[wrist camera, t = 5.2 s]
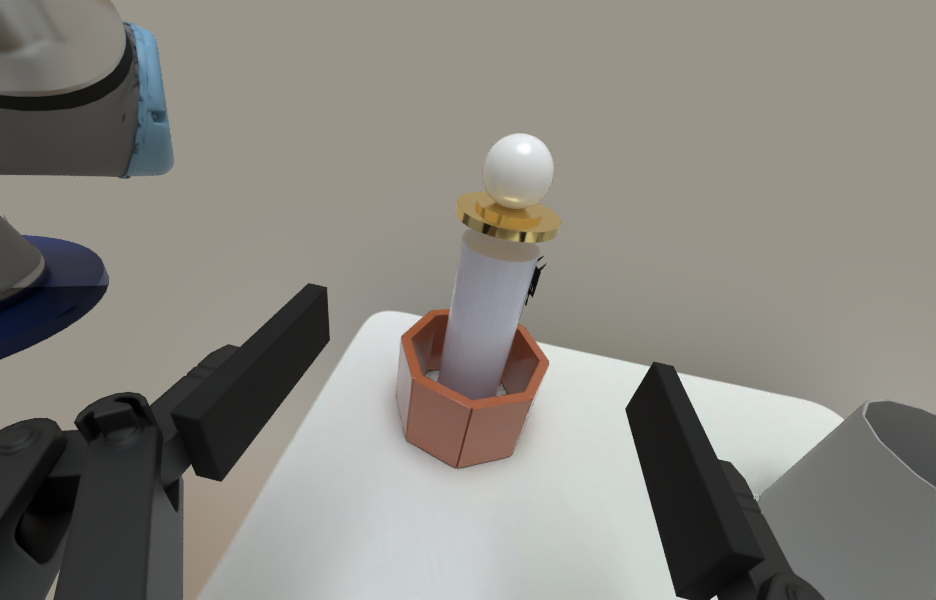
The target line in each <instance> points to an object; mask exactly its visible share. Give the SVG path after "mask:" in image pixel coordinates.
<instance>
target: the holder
mask: <svg viewBox="0 0 936 600" xmlns="http://www.w3.org/2000/svg"><path fill="white" fill-rule="evenodd" d="M449 310H450V309H443V310H442V309H441V310H432V311H429V312H428V313H427V314H426V315H425V316H424V317H422V318H421V319H420V320H419V321H418V322H417V323H416V324H414V325H413V326H412V327H411V328H410V329H409V330H408V331H407V332H405V333H404V334H403V335H402V336H401V343H400V355H399V366H398V378H397V390H396V399H397V403H398V408H399V412H400V417H401V422H402V426H403V431H404V435H405V438H407V441H408V442H410V443H412V444H414V445H415V446H417V447H419V448H421V449H422V450H424V451H426V452H428V453H429V454H431V455H433V456H435V457H436V458H438V459H440V460H442V461H443V462H445V463H447V464H449V465H451V466H452V467H454V468H456V466H457V468H462V467H466V466H471V465H475V464H480V463H484V462H489V461H493V460H497V459H502V458H506V457H510V455H512V453H513V451H514V449H515V447H516V444H517V442H518V440H519V437H520V435H521V433H522V431H523V428H524V426H525V424H526V422H527V419H528V417H529V414H530V412H531V409H532V407H533V404H534V402H535V399H536V397H537V394H538V392H539V389H540V386H541V384H542V381H543V379H544V376H545V374H546V371H547V369H548V366H549V360H548V359H547V358H546V356H545V355H544V353H543V352H542V350H541V349H540V348H539V346H538V345H537V343H536V342H535V341H534V339H533V338H532V336H531V335H530V333H529V332H528V331H527V329H526V328H525V327H523V326H522V325H520V324H518V326H517V329H516V333H515V336H514V339H513V343H512V346H511V349H510V352H509V356H508V359H507V362H506V365H505V369H504V372H503V375H502V379H501V382H502V384H503V385H504V387H505V389H506V391H507V393H508V395H502V396H495V397H489V398H483V399H476V400H471V399H469V398H467V397H465V396H463V395H461V394H459V393H457V392H455V391H453V390H451V389H449V388H447V387H445V386H443V385H441V384H439V383H437V382H435V381H433V380H431V379H429V378H427V377H425V376H424V375H425V374H426V372H427V371H429V370H437V369H440V363H441V357H442V351H443V345H444V339H445V333H446V328H447V322H448V316H449Z"/></svg>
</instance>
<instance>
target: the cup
mask: <svg viewBox="0 0 936 600" xmlns="http://www.w3.org/2000/svg"><path fill="white" fill-rule="evenodd" d="M758 505H759V507H760V509H761V514H763V515H764V517H765V519H766V521H767V523H768V525H769V527H770V528H771V530H772V532H773V534H774V536H775V538H776V540H777V542H778V544H779V546H780V548H781V550H782V552H783V553H784V555H785V557H786V559H787V561H788V563H789V565H790V567H791V569H792V570H793V572H794V574H795V575H798V576H799V577H801V578H802V579H804V580H805V581H807V582H808V583H810V584H811V585H812V586H813V587H814V588H815V589H816V590H817V591H818V592H819V593H820V594H821V595H822V596H823V597H824V599H825V600H936V414H934V413H931V412H929V411H927V410H925V409H922V408H919V407H915V406H911V405H908V404H904V403H900V402H896V401H892V400H889V399H882V400H872V401H866V402H865V403H863V404H862V405H861V406H860V407H859V408H858V409H857V410H856V411H854V413H852V414H851V415H850V416H849V417H848V418H847V419H845V420H844V421H843V422H842V423H841V424H840V425H839V426H838V427H836V428H835V429H834V430H833V431H832V432H831V433H830V434H829V435H827V436H826V437H825V438H824V439H823V440H822V441H821V442H820V443H818V444H817V445H816V446H815V447H814V448H813V449H812V450H811V451H809V452H808V453H807V454H806V455H805V456H804V457H803V458H802V459H800V460H799V461H798V462H797V463H796V464H795V465H794V466H792V467H791V468H790V469H789V470H788V471H787V472H786V473H785V474H783V475H782V476H781V477H780V478H779V479H778V480H777V481H776V482H774V483H773V484H772V485H771V486H770V487H769V488H768V489H767V490H765V491H764V492H763V493H762V495H761V497H760V499H759V501H758Z"/></svg>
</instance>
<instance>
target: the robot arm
mask: <svg viewBox="0 0 936 600" xmlns="http://www.w3.org/2000/svg"><path fill="white" fill-rule="evenodd" d="M173 164H174V156H173V149H172V142H171V135H170V128H169V122H168V115H167V108H166V101H165V95H164V88H163V81H162V74H161V67H160V60H159V54H158V47H157V41H156V39H155V37H154V35H153V34H152V33H151V32H149V31H148V30H147V29H144V28H141V27H138V26H136V25H135V24H133V23H129V22H122V20H121V18H120V16H119V14H118V12H117V10H116V8H115V6H114V4H113V3H112V2H111V1H110V0H0V175H68V176H69V175H70V176H109V177H119V178H125V179H126V178H130V177H131V176H151V175H152V176H154V175H162V174H165V173H167V172H168V171H170V169H171V168H172V167H173ZM49 277H50V269H49V267H48V265H47V263H46V261H45V259H44V257H43V256H42V254H41V252H40V250H39V249H38V248H37V247H35V246H34V245H33V244H32V243H31V242H29V241H28V240H26V239H25V238H24V237H23V236H22V235H21V234H20V233H19V232H18V231H16V230H15V229H14V228H13V227H12V226H11V225H10V224H9V223H8V221H7V219H6V217H5V216H4V218H2V217H1V216H0V313H1V312H3V311H5V310H8V309H10V308H12V307H14V306H16V305H17V304H19V303H21V302H23V301H24V300H26V299H28V298H29V297H31V296H32V295H34V294H35V293H36V292H38V291H39V290H40V289H41V288H42V287H43V286H44V285H45V284H46V282H47V281H48V279H49ZM329 340H330V335H329V317H328V299H327V287H323V286H319V285H314V284H310V283H308V284H307V285H306V286H305V287H304V288H303V289H302V290H301V291H300V292H299V293H297V294H296V295H295V296H294V297H293V298H292V299H291V300H290V301H289V302H288V303H287V304H286V305H285V306H284V307H282V308H281V309H280V310H279V311H278V312H277V313H276V314H275V315H274V316H273V317H272V318H271V319H270V320H269V321H267V322H266V323H265V324H264V325H263V326H262V327H261V328H260V329H259V330H258V331H257V332H256V333H255V334H254V335H252V336H251V337H250V338H249V339H248V340H247V341H246V342H245V343H244V344H243V345H242V346H241V347H237V346H233V345H229V344H228V345H226V346H224V347H222V348H220V349H218V350H216V351H214V352H212V353H210V354H209V355H208V356H207V357H206V358H204V360H202V361H201V362H200V363H199V364H198V366H197V367H194V368H193V369H192V370H191V371H189V372H188V373H187V375H186V376H184V377H182V378H181V379H180V380H179V381H178V382H177V383H176V384H174V385H173V386H172V387H171V388H170V389H169V390H168V391H166V392H165V393H164V394H163V395H162V396H161V397H159V398H158V399H157V400H156V401H155V402H154V403H152V404H151V405H150V406H149V404H148V402H147V400H146V398H145V397H144V396H142V395H141V394H139V393H132V392H125V393H116V394H113V395H110V396H107V397H104V398H101V399H99V400H97V401H96V402H94V403H92V404H90V405H88V406H87V407H86V408H85V409H84V410H83V411H81V412H80V413H79V414H78V416H77V418H76V420H75V421H74V423H75V425H76V426H77V428H78V430H71V431H70V430H69V431H62V430H61V429H60V427H59V426H58V425H57V423H56V422H55V421H53V420H51V419H48V418H33V419H29V420H24V421H20V422H17V423H15V424H12V425H10V426H7V427H5V428H3V429H1V430H0V600H45V598H46V596H47V594H48V592H49V590H50V588H51V586H52V584H53V582H54V580H55V578H56V575H57V573H58V572H59V570H60V573H59V577H58V582H57V586H56V591H55V595H54V600H183V478H182V474H183V473H184V472H185V471H186V469H187V468H188V467H189V466H190V465H191V464H192V467H193V469H194V471H195V474H196V475H197V476H200V477H204V478H209V479H212V480H216V481H222V480H223V479H224V478H225V476H226V475H227V474H228V472H229V471H230V470H231V469H232V467H233V466H234V465H235V463H236V462H237V461H238V460H239V458H240V457H241V456H242V454H243V453H244V452H245V450H246V449H247V448H248V446H249V445H250V444H251V443H252V441H253V440H254V438H255V437H256V436H257V435H258V433H259V432H260V431H261V429H262V428H263V427H264V425H265V424H266V423H267V422H268V420H269V419H270V418H271V416H272V415H273V414H274V412H275V411H276V410H277V408H278V407H279V406H280V405H281V403H282V402H283V401H284V399H285V398H286V397H287V395H288V394H289V393H290V391H291V390H292V389H293V388H294V386H295V385H296V384H297V382H298V381H299V380H300V378H301V377H302V376H303V374H304V373H305V372H306V371H307V369H308V368H309V367H310V365H311V364H312V363H313V361H314V360H315V359H316V357H317V356H318V355H319V353H320V352H321V351H322V350H323V348H324V347H325V346H326V344H327V343H328V342H329ZM625 410H626V414H627V417H628V421H629V425H630V428H631V432H632V436H633V439H634V443H635V447H636V450H637V454H638V458H639V461H640V465H641V469H642V472H643V476H644V480H645V483H646V487H647V491H648V494H649V498H650V502H651V505H652V509H653V513H654V516H655V520H656V524H657V527H658V531H659V535H660V538H661V542H662V546H663V549H664V553H665V557H666V560H667V564H668V568H669V571H670V575H671V579H672V582H673V586H674V590H675V593H676V597H680V598H684V599H688V600H710V599H711V598H713V597H714V596H716V595H717V597H718V600H825V599H824V597H823V596H822V595H821V594H820V593H819V592H818V591H817V590H816V589H815V588H814V587H813V586H812V585H811V584H810V583H808V582H807V581H805V580H804V579H802V578H801V577H799V576H798V575H795V574H794V572H793V570H792V569H791V567H790V565H789V563H788V561H787V559H786V557H785V555H784V553H783V552H782V550H781V548H780V546H779V544H778V542H777V540H776V538H775V536H774V534H773V532H772V530H771V528H770V527H769V525H768V523H767V521H766V519H765V517H764V515H763V514H761V509H760V507H759V505H758V503H757V502H756V500H754V498H753V497H754V496H753V494H752V492H751V490H750V488H749V486H748V484H747V482H746V480H745V479H744V477H743V476H742V475H741V474H740V473H739V472H738V471H737V469H736V468H735V467H734V466H733V465H732V464H731V462H728V461H723V460H719V459H718V458H717V456H716V454H715V452H714V450H713V448H712V446H711V444H710V442H709V439H708V437H707V435H706V433H705V431H704V429H703V427H702V425H701V423H700V421H699V418H698V416H697V414H696V412H695V410H694V408H693V406H692V404H691V402H690V400H689V398H688V395H687V393H686V391H685V389H684V387H683V385H682V383H681V381H680V379H679V377H678V374H677V372H676V370H675V368H674V366H671V365H666V364H662V363H657V362H653V364H652V365H651V367H650V369H649V370H648V372H647V374H646V375H645V377H644V379H643V380H642V382H641V384H640V385H639V387H638V389H637V390H636V392H635V394H634V395H633V397H632V399H631V400H630V402H629V404H628V405H627V407H626V409H625Z"/></svg>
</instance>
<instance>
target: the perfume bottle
mask: <svg viewBox="0 0 936 600" xmlns="http://www.w3.org/2000/svg"><path fill="white" fill-rule="evenodd" d="M482 175H483V182H484V186H485V189H486V190H487V192H471V193H466V194H463V195H461V196H460V197H458V199H457V202H456V209H455V214H456V216H457V217H458V219H459V220H460V221H461V222H462V223H464V224H465V225H467V226H468V227H470V228H471V229H468V230H466V231H465V232H464V233H463V235H462V240H461V245H460V251H459V257H458V263H457V269H456V275H455V281H454V286H453V292H452V298H451V304H450V310H449V316H448V322H447V328H446V333H445V339H444V345H443V351H442V357H441V363H440V369H439V375H438V380H437V383H439V384H441V385H443V386H445V387H447V388H449V389H451V390H453V391H455V392H457V393H459V394H461V395H463V396H465V397H467V398H469V399H471V400H476V399H483V398H489V397H495V396H496V395H497V392H498V388H499V385H500V382H501V379H502V375H503V372H504V369H505V365H506V362H507V359H508V356H509V352H510V349H511V346H512V343H513V339H514V336H515V333H516V329H517V326H518V323H519V320H520V316H521V313H522V310H523V306H524V303H525V300H526V297H527V295H528V297H529V295H531V296H532V297H533V295H534V292H535V289H536V286H537V283H538V279H539V276H540V273H541V272H540V271H541V270H542V269H543V267H544V266H545V265H546V264H545V265H544V266H542V267H541V268H540V269H538V268H537V267H536V264H537V262H538V261H539V260H540V259H541V258H543V257H541V258H539V259H538V257H539V254H540V250H539V247H538V246H537V245H536V243H535V242H544V241H548V240H551V239H553V238H554V237H556V236H557V233H558V231H559V228H560V225H561V220H560V218H559V217H558V215H557V214H556V213H554V212H553V211H552V210H550V209H549V208H547V207H545V206H543V205H541V204H539V203H537V202H539V201H540V200H541V199H542V198H543V197H544V196H545V194H546V193H547V191H548V190H549V188H550V186H551V183H552V181H553V175H554V164H553V160H552V156H551V153H550V151H549V150H548V148H547V147H546V145H545V144H544V143H543V142H542V141H541V140H540V139H538V138H536V137H534V136H532V135H529V134H524V133H517V134H511V135H508V136H506V137H504V138H502V139H500V140H499V141H498V142H496V143H495V144H494V145H493V147H492V148H491V149H490V150H489V152H488V154H487V156H486V158H485V161H484V164H483V171H482ZM531 284H532V285H531ZM532 287H533V291H531V290H532ZM530 288H531V289H530ZM528 297H527V300H526V303H525V305H527V301H528Z"/></svg>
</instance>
